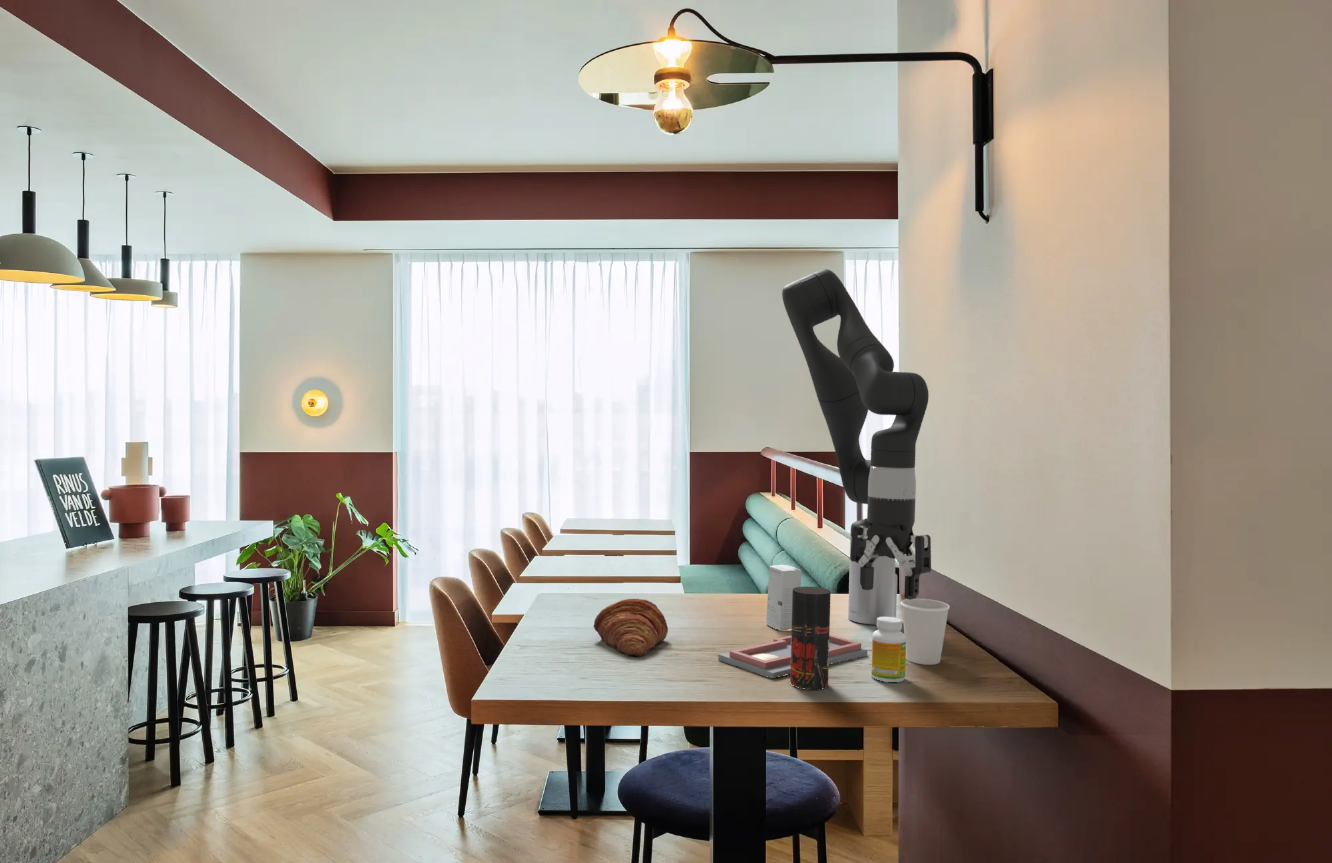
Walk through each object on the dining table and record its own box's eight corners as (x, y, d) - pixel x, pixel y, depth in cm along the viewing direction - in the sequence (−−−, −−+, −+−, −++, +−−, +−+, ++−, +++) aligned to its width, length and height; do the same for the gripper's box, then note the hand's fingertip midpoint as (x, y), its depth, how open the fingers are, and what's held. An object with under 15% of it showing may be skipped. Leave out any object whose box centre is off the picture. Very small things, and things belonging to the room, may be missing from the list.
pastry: (694, 644, 164) (695, 601, 164) (635, 660, 153) (636, 614, 153) (629, 627, 175) (630, 586, 175) (571, 641, 164) (571, 598, 164)
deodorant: (786, 678, 143) (788, 586, 143) (822, 678, 144) (825, 586, 143) (794, 690, 138) (797, 594, 137) (832, 690, 138) (835, 594, 138)
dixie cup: (946, 669, 151) (948, 610, 150) (896, 663, 153) (898, 605, 153) (949, 656, 158) (951, 600, 158) (901, 651, 161) (902, 596, 161)
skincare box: (765, 624, 179) (766, 564, 178) (784, 623, 180) (786, 563, 180) (780, 632, 173) (782, 570, 173) (800, 630, 175) (802, 569, 174)
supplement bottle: (906, 684, 142) (907, 624, 141) (871, 681, 143) (873, 621, 142) (903, 674, 147) (905, 616, 147) (870, 672, 148) (872, 614, 148)
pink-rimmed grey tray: (812, 639, 168) (812, 628, 168) (867, 655, 158) (867, 644, 158) (718, 660, 153) (718, 648, 153) (772, 679, 143) (773, 666, 143)
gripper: (943, 498, 141) (939, 599, 141) (871, 490, 152) (868, 584, 152) (914, 500, 136) (910, 605, 136) (842, 491, 147) (839, 588, 148)
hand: (888, 594), depth 144 cm, fingers open, 8 cm apart
